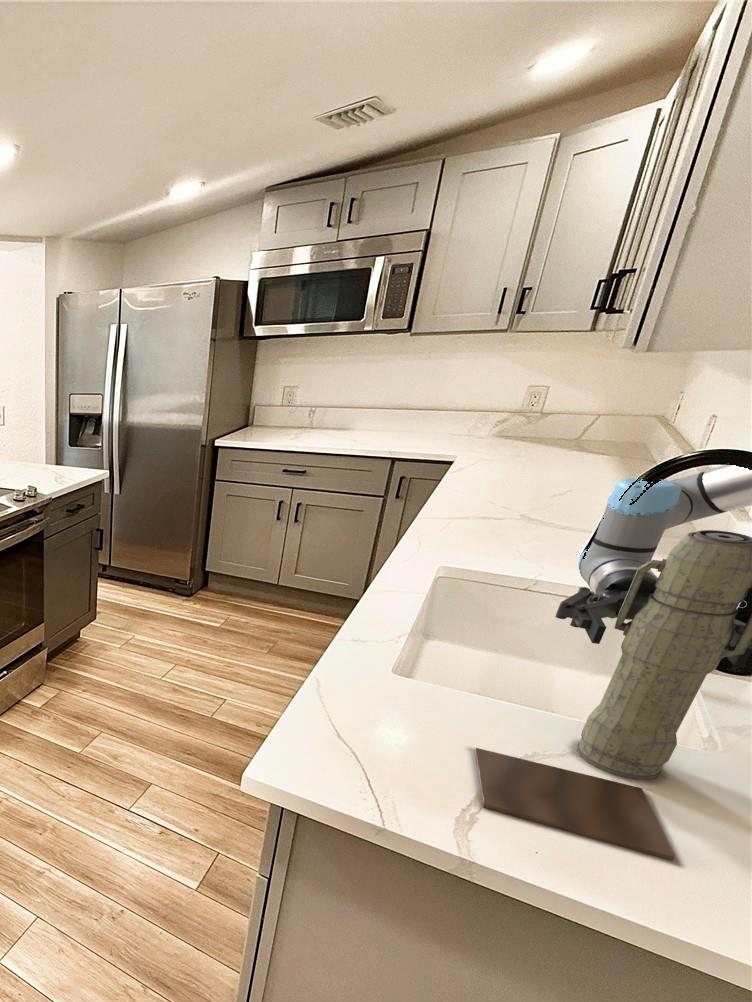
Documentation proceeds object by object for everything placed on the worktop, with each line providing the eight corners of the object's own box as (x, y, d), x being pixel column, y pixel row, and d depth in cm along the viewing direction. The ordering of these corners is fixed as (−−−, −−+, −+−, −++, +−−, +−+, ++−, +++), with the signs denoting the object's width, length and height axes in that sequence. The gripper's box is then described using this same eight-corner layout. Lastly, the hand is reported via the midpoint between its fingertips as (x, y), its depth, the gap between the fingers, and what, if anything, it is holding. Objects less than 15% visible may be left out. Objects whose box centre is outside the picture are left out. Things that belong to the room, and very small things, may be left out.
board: (640, 791, 85) (641, 787, 84) (672, 860, 74) (674, 857, 74) (474, 750, 94) (475, 747, 94) (482, 807, 84) (484, 803, 84)
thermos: (676, 794, 84) (808, 555, 69) (559, 757, 92) (655, 536, 77) (676, 763, 89) (798, 535, 75) (565, 730, 97) (657, 519, 83)
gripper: (732, 627, 94) (796, 693, 78) (519, 597, 107) (537, 649, 92) (756, 582, 91) (827, 642, 75) (533, 557, 104) (554, 603, 88)
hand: (668, 646), depth 83 cm, fingers open, 13 cm apart
